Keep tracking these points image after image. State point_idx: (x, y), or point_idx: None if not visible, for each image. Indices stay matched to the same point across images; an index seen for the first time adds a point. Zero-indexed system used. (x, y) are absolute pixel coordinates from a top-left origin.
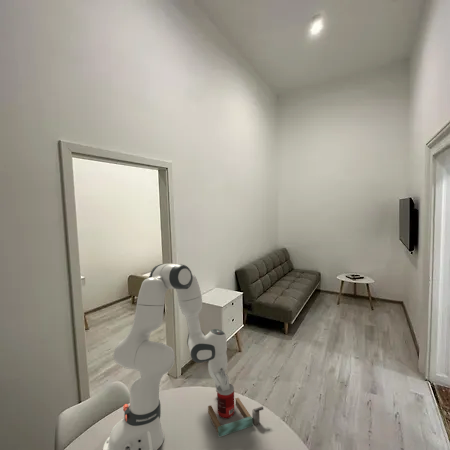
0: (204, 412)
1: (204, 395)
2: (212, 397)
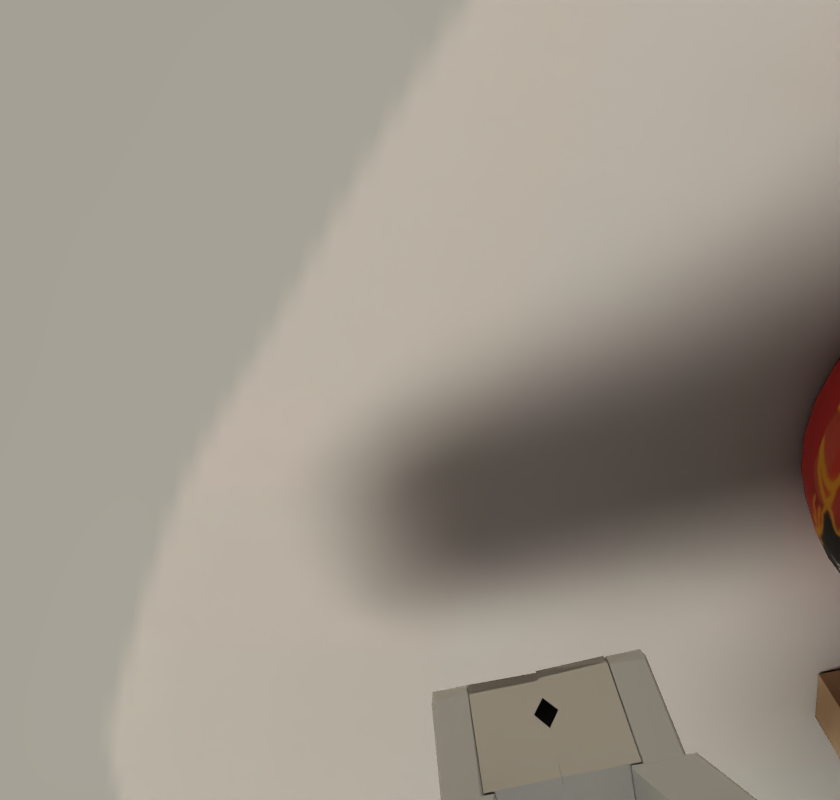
0: (770, 760)
1: (266, 769)
2: (360, 646)
